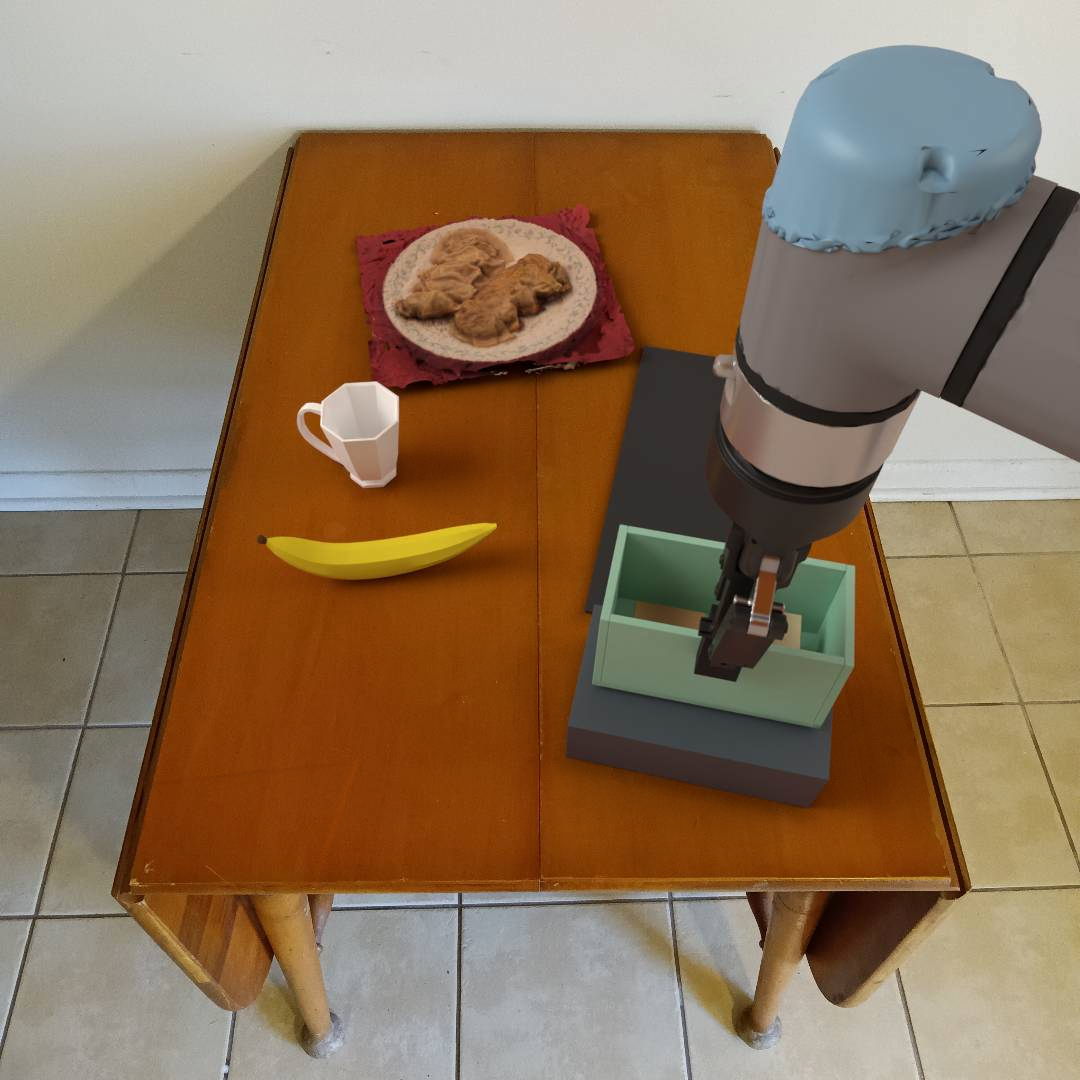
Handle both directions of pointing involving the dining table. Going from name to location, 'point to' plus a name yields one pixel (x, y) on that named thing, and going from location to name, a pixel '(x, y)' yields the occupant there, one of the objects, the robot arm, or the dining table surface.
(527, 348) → the plate with food
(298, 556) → the banana
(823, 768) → the block
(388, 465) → the cup
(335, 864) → the dining table surface
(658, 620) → the brown rectangular tile
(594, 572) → the mat
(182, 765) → the dining table surface
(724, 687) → the open box
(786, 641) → the beige square block
